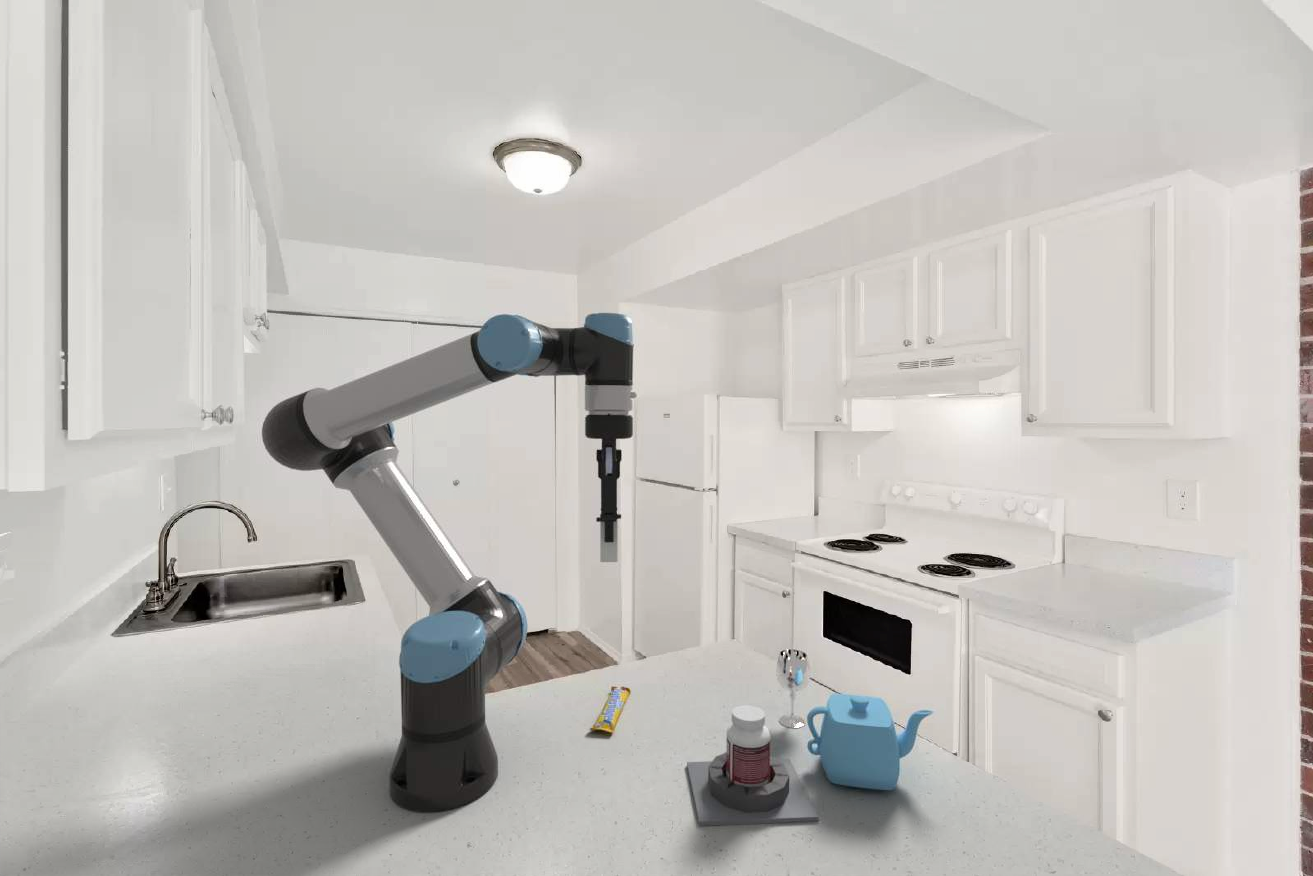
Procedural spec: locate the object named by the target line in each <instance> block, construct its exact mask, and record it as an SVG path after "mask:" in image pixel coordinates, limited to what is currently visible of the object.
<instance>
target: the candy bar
mask: <svg viewBox="0 0 1313 876" xmlns="http://www.w3.org/2000/svg"><path fill="white" fill-rule="evenodd" d="M610 689H611V690H610V692H611V693H610V694H609V697H608V699H607V701H606V703H605V705H604V707H603V709H602V711H601V712H600V714H599V716H598V717H597V719H596V721H595V723H594V725H593V727H589V729H588V730H590V731H604V732H605V733H611V734H612V733H614V732H615V729H616V727H617V723H618V722H619V720H618V719H620V717H621V714H622V712H623V710H624V708H623V707H625V706H624V705H626V703H627V701H626V700H628V698H629V696H630V694H631V693H632V691H631V689H630V688H629V687H627V686H626V687H625V686H620V688H619V687H618V686H611V688H610ZM619 716H620V717H619Z"/></svg>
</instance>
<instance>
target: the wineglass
mask: <svg viewBox="0 0 1313 876" xmlns="http://www.w3.org/2000/svg"><path fill="white" fill-rule="evenodd" d="M776 662H777V663H776V667H775V674H776V681H777V683H778V684H779V686H780V688H782V689H783V690H785V691H788V692H790V693H789V699H790V714H785V715H782V716H780V717H779V723H780V724H781V725H782V726H784V727H786V728H790V729H800V728H802V727H804V726H805V725H806V720H805V718H804V719H803V717H800V716H799V715H795V713H794V712H795V708H794V705H795V700H796V692H797V693H798V692H801V691H804V690H805V689H806V688H807V687H808V685H809V684H810V677H811V670H810V664H809V659H808V655H807V654H806V652H804V651H802V650H799V649H789V648H788V649H783V650H780V652H779V654H778V657H777V661H776Z"/></svg>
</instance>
